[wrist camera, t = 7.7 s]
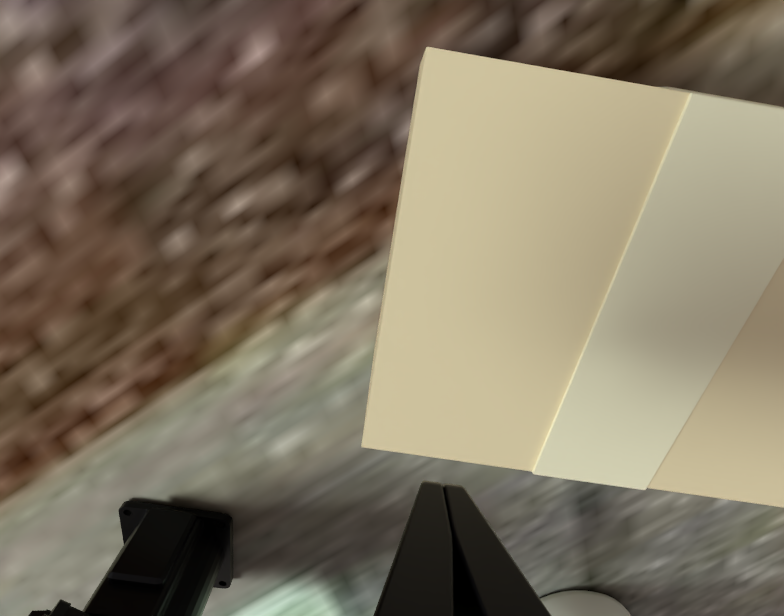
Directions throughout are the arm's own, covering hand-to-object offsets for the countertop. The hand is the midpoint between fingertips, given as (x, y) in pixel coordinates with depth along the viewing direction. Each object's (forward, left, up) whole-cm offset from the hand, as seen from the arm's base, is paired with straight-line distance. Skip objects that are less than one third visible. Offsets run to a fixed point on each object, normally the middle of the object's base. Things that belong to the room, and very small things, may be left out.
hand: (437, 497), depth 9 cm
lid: (+2, -6, -6) cm, 9 cm away
